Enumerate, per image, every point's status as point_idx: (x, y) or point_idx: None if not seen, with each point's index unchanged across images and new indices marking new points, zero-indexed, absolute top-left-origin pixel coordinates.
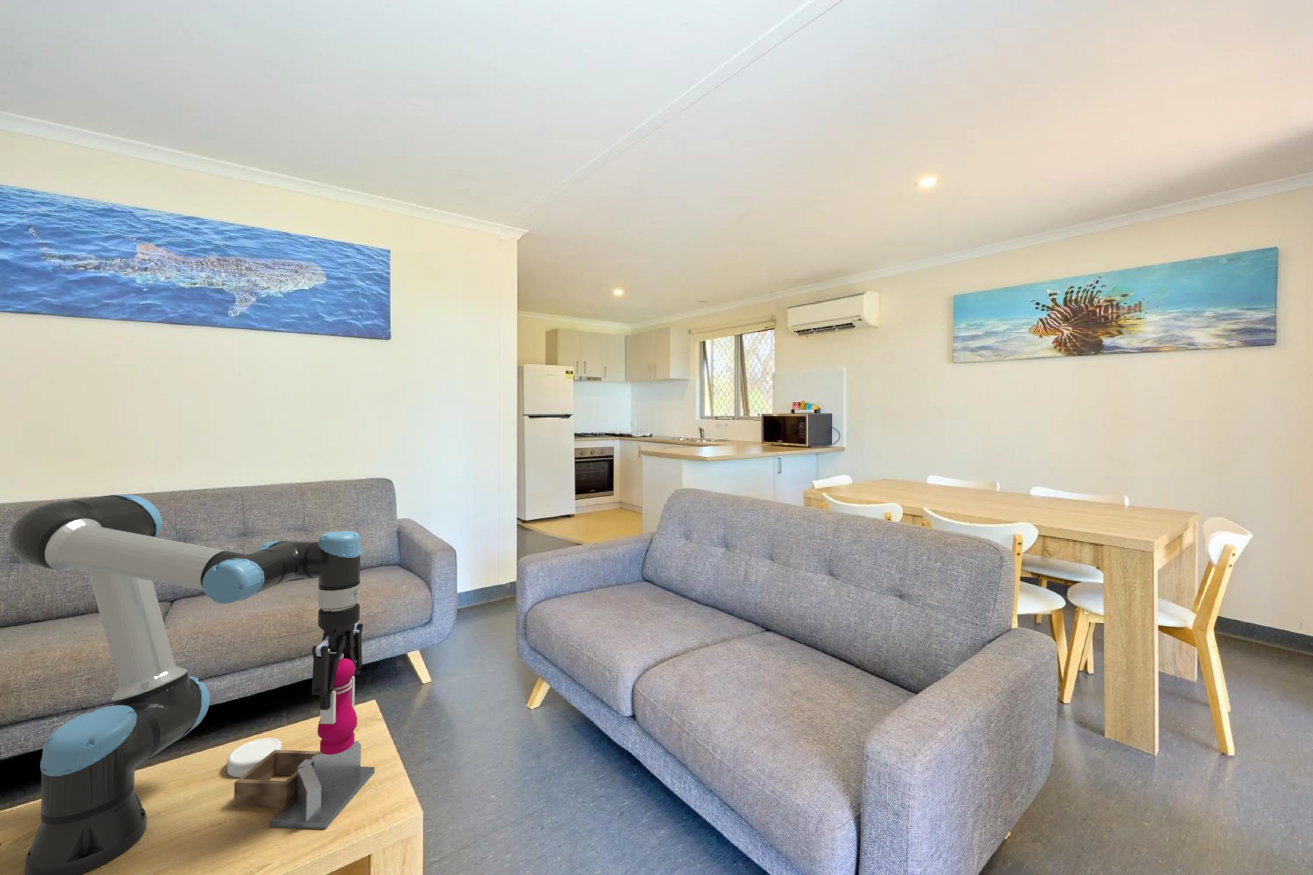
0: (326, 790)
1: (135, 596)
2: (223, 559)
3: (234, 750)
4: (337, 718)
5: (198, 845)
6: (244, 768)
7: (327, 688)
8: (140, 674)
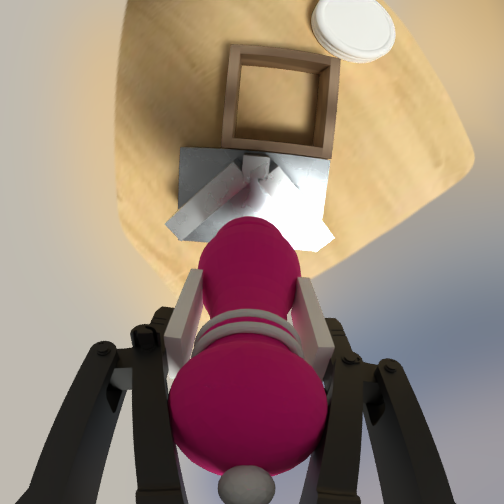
0: (255, 198)
1: None
2: None
3: None
4: (208, 313)
5: (149, 72)
6: (315, 24)
7: (124, 395)
8: None
